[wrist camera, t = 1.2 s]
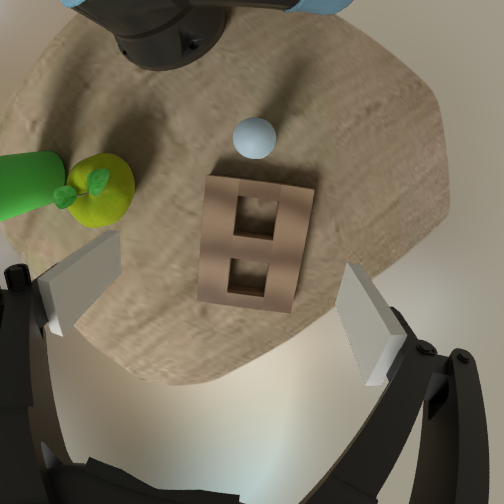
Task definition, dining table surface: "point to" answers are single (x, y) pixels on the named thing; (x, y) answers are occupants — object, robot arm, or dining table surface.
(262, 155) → the peg
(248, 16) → the dining table surface
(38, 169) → the bottle
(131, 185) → the fruit
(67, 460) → the robot arm
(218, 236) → the board
